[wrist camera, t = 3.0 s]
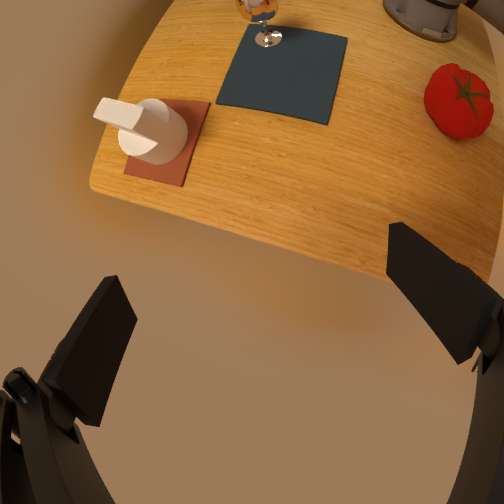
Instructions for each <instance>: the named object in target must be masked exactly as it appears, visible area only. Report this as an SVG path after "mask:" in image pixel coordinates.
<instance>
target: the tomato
mask: <svg viewBox="0 0 504 504" xmlns="http://www.w3.org/2000/svg"><path fill="white" fill-rule="evenodd" d="M424 104H425V108H426V110H427V112H428V113H429V114H430V116H431V117H432V118H433V120H434V121H435V123H436V124H437V126H438V128H440V129H441V130H442V131H443V132H444V133H446V134H447V135H448V136H451V137H453V138H454V139H458V140H461V139H465V138H475V137H478V136H480V135H481V134H482V133H483V132H484V131H485V130H486V128H487V127H488V126H489V124H490V122H491V119H492V116H493V113H494V108H493V104H492V103H491V102H490V91H489V89H488V87H487V86H486V84H485V82H484V81H483V80H482V79H480V78H479V77H478V76H477V75H475V74H473V73H471V72H469V71H467V70H463V69H461V68H460V67H459V66H458V65H457V64H453V63H450V64H446V65H443V66H441V67H440V68H438V69H437V70H436V71H435V72H434V73H433V74H432V76H431V78H430V81H429V84H428V85H427V87H426V89H425V93H424Z"/></svg>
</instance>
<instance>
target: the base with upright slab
mask: <svg viewBox="0 0 504 504" xmlns="http://www.w3.org/2000/svg"><path fill="white" fill-rule="evenodd" d="M93 117H94V118H96V119H99V120H101V121H103V122H105V123H107V124H109V125H112V126H114V127H116V128H118V129H119V133H118V141H119V144H120V147H121V149H122V150H123V151H124V152H125V153H126V154H128V155H130V156H133V157H136V158H138V159H141V160H143V161H146V162H149V163H151V164H155V165H158V164H164V163H167V162H169V161H171V160H172V159H174V158H175V157H176V156H177V155H178V154H179V153H180V152H181V150H182V149H183V147H184V145H185V143H186V140H187V135H188V128H187V124H186V122H185V120H184V119H183V118H182V117H181V116H180V115H179V114H178V113H176V112H175V111H174V110H173V109H171V108H170V107H169V106H167V105H166V104H165V103H164V102H162V101H160V100H158V99H146V100H143V101H141V102H139V103H137V104H136V105H134V104H130V103H126V102H122V101H117V100H113V99H109V98H103V99H102V100H101V101H100V103H99V105H98V106H97V108H96V111H95V113H94V116H93Z"/></svg>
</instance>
